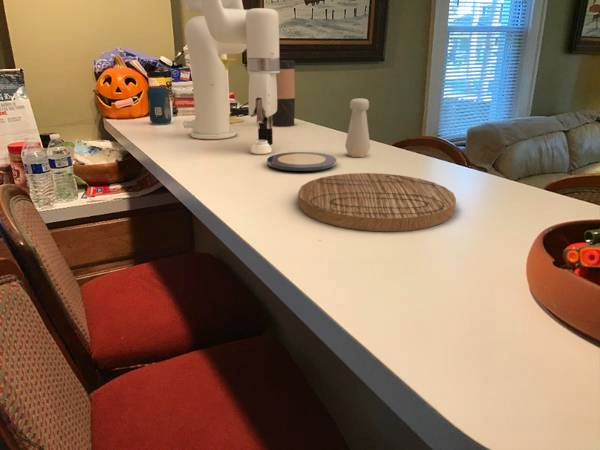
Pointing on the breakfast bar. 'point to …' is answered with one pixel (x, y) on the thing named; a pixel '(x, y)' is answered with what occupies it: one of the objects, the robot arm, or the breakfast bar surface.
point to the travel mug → (285, 94)
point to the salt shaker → (358, 129)
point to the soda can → (159, 105)
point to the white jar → (261, 147)
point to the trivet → (376, 202)
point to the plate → (301, 161)
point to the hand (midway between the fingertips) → (265, 144)
